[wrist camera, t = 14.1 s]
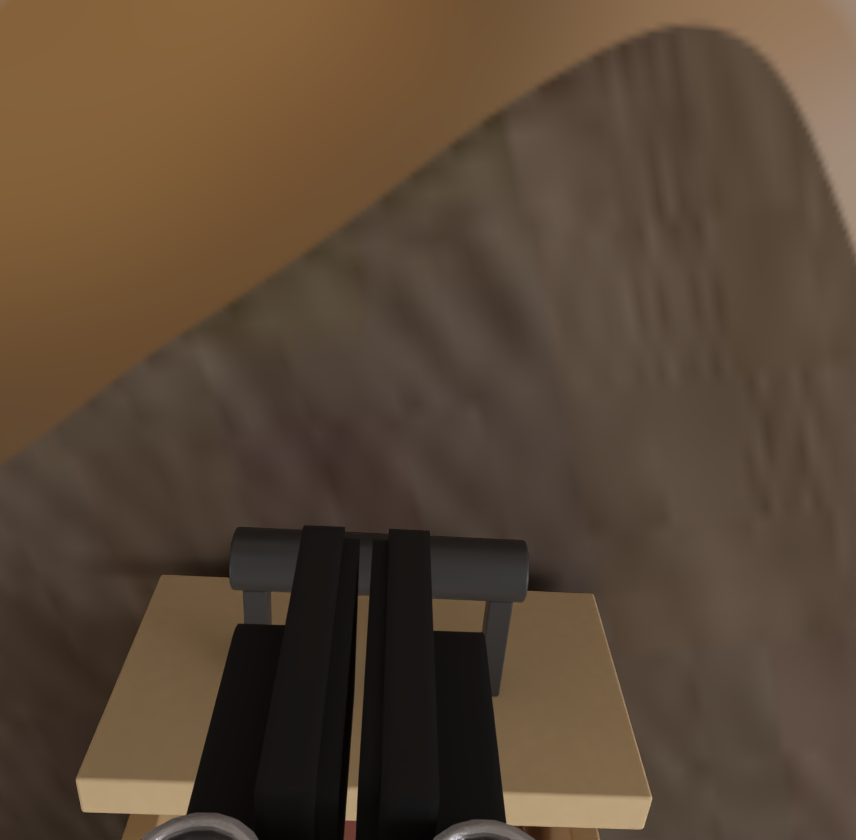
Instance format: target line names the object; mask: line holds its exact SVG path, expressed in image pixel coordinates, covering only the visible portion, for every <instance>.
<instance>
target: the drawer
mask: <svg viewBox="0 0 856 840" xmlns="http://www.w3.org/2000/svg"><path fill="white" fill-rule="evenodd" d="M302 531H303V530H296V529H274V528H253V527H238V528H237V529H236V530H235V533H234V535H233V539H232V543H231V550H230V559H229V577H207V576H184V575H161V577H160V579H159V582H158V584H157V586H156V589H155V591H154V593H153V596H152V598H151V601H150V603H149V605H148V608H147V610H146V613H145V615H144V617H143V620H142V622H141V624H140V627H139V629H138V632H137V634H136V636H135V639H134V641H133V644H132V646H131V648H130V651H129V653H128V655H127V658H126V660H125V663H124V665H123V667H122V670H121V672H120V675H119V677H118V679H117V682H116V684H115V686H114V689H113V691H112V694H111V696H110V698H109V701H108V703H107V706H106V708H105V710H104V713H103V715H102V717H101V720H100V722H99V725H98V727H97V729H96V732H95V734H94V737H93V739H92V741H91V744H90V746H89V748H88V751H87V753H86V756H85V758H84V760H83V763H82V765H81V768H80V770H79V772H78V775H77V777H76V785H77V790H78V795H79V800H80V805H81V809H82V811H83V812H92V813H124V814H130V816H129V819H128V822H127V825H126V828H125V831H124V834H123V837H122V840H140V839H142V838H143V837H144V836H145V835H146V834H147V833H148V832H149V831H150V830H152V829H154V828H156V827H157V826H159V825H161V824H163V823H165V822H167V821H169V820H170V819H172V818H176V817H180V816H184V815H186V813H187V810H188V806H189V802H190V798H191V794H192V790H193V786H194V783H195V779H196V775H197V771H198V767H199V763H200V759H201V756H202V752H203V748H204V744H205V740H206V736H207V732H208V729H209V725H210V721H211V717H212V713H213V709H214V705H215V702H216V698H217V694H218V690H219V686H220V682H221V678H222V675H223V671H224V667H225V663H226V659H227V655H228V651H229V648H230V644H231V640H232V636H233V633H234V630H235V627H236V626H237V624H238V623H240V624H268V625H285V622H286V617H287V612H288V606H289V601H290V595H291V590H292V584H293V579H294V574H295V568H296V563H297V557H298V552H299V547H300V541H301V536H302ZM345 538H355V539H360V556H359V584H358V612H357V640H356V668H355V692H354V708H353V722H352V736H351V750H350V763H349V777H348V791H347V804H346V818H345V820H350V821H356V815H357V794H358V776H359V759H360V742H361V726H362V710H363V693H364V677H365V660H366V644H367V628H368V611H369V595H370V578H371V562H372V546H373V539H379V540H389V534H381V533H359V532H345ZM430 552H431V579H432V606H433V631H458V632H483V634H484V636H485V641H486V647H487V656H488V665H489V674H490V683H491V691H492V700H493V709H494V718H495V727H496V736H497V744H498V753H499V762H500V771H501V780H502V789H503V797H504V806H505V815H506V824H509V825H512V826H523V830H524V832H525V833H526V834H528V835H529V836H531V837H532V838H534V839H535V840H600V838H599V833H598V828H608V829H643V828H644V824H645V821H646V818H647V815H648V811H649V808H650V805H651V801H652V796H651V792H650V789H649V785H648V782H647V778H646V775H645V771H644V768H643V764H642V761H641V757H640V754H639V750H638V747H637V743H636V740H635V736H634V733H633V730H632V726H631V723H630V719H629V716H628V712H627V709H626V705H625V702H624V698H623V695H622V691H621V688H620V684H619V681H618V677H617V674H616V670H615V667H614V663H613V660H612V657H611V653H610V650H609V646H608V643H607V639H606V636H605V632H604V629H603V625H602V622H601V618H600V615H599V611H598V608H597V604H596V601H595V597H594V595H593V594H591V593H568V592H545V591H527V590H528V583H529V554H528V548H527V544H526V542H525V541H523V540H508V539H487V538H465V537H444V536H430Z"/></svg>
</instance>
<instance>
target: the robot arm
mask: <svg viewBox="0 0 856 840" xmlns="http://www.w3.org/2000/svg"><path fill="white" fill-rule="evenodd" d="M359 556H360V539H355V538H345V527H330V526H306V525H304V527H303V531H302V536H301V541H300V547H299V552H298V557H297V563H296V568H295V574H294V579H293V584H292V590H291V595H290V601H289V606H288V612H287V617H286V622H285V625H268V624H240V623H238V624H237V626H236V627H235V630H234V633H233V636H232V640H231V644H230V648H229V651H228V655H227V659H226V663H225V667H224V671H223V675H222V678H221V682H220V686H219V690H218V694H217V698H216V702H215V705H214V709H213V713H212V717H211V721H210V725H209V729H208V732H207V736H206V740H205V744H204V748H203V752H202V756H201V759H200V763H199V767H198V771H197V775H196V779H195V783H194V786H193V790H192V794H191V798H190V802H189V806H188V810H187V813H186V815H184V816H180V817H176V818H172V819H170V820H169V821H167V822H165V823H163V824H161V825H159V826H157V827H156V828H154V829H152V830H150V831H149V832H148V833H147V834H146V835H145V836H144V837H143V838H142V839H140V840H344V832H345V818H346V804H347V791H348V777H349V763H350V750H351V736H352V722H353V708H354V692H355V668H356V640H357V612H358V584H359ZM355 840H535V839H534V838H532V837H531V836H529V835H528V834H526V833H525V832H523V831H522V830H520V829H519V828H517V827H515V826H512V825H509V824H506V815H505V806H504V797H503V789H502V780H501V771H500V762H499V753H498V744H497V736H496V727H495V718H494V709H493V700H492V691H491V683H490V674H489V665H488V656H487V647H486V641H485V636H484V634H483V632H458V631H433V606H432V579H431V552H430V532H429V531H422V530H399V529H389V540H379V539H373V546H372V562H371V578H370V595H369V611H368V628H367V644H366V660H365V677H364V693H363V710H362V726H361V742H360V759H359V776H358V794H357V815H356V839H355Z"/></svg>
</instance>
